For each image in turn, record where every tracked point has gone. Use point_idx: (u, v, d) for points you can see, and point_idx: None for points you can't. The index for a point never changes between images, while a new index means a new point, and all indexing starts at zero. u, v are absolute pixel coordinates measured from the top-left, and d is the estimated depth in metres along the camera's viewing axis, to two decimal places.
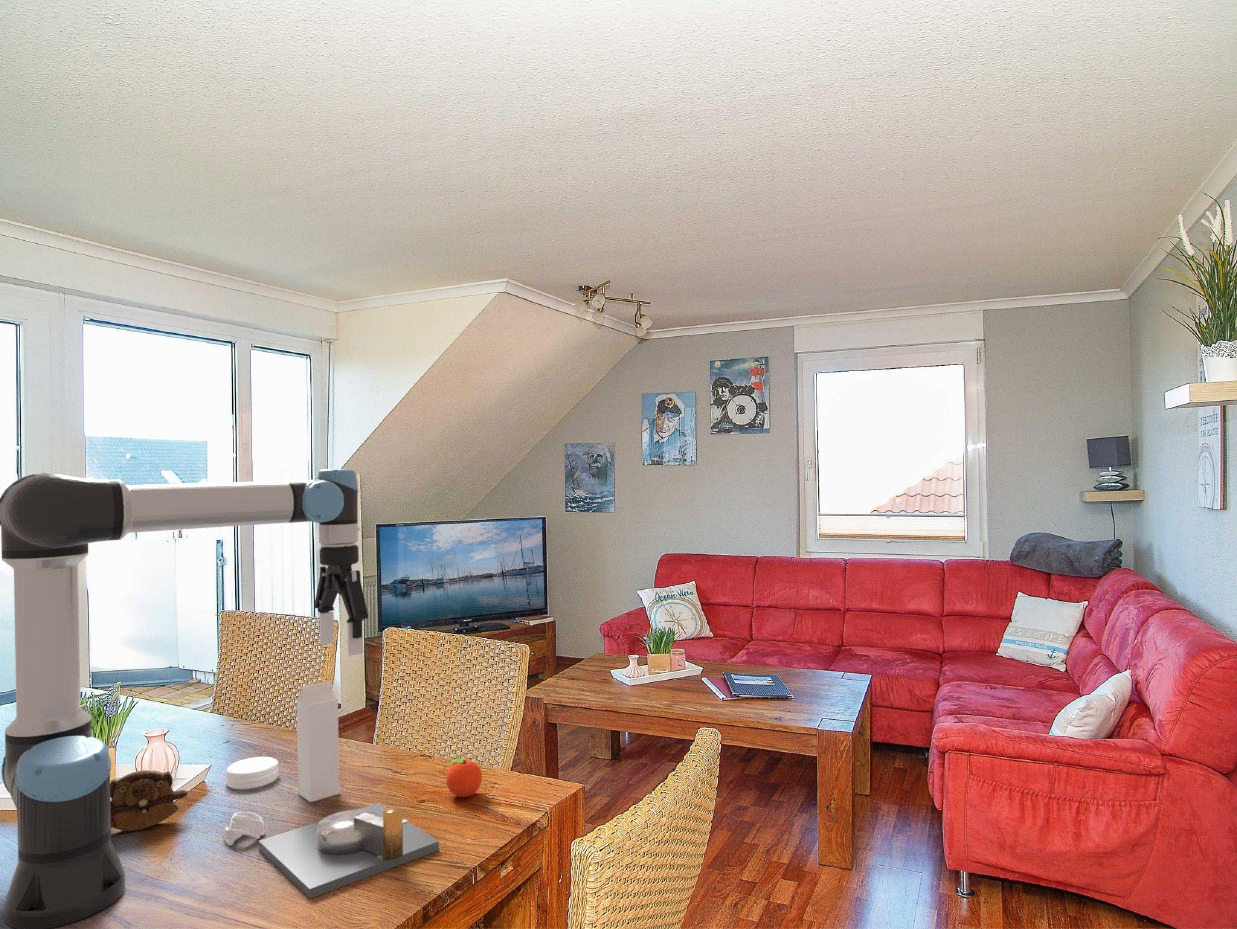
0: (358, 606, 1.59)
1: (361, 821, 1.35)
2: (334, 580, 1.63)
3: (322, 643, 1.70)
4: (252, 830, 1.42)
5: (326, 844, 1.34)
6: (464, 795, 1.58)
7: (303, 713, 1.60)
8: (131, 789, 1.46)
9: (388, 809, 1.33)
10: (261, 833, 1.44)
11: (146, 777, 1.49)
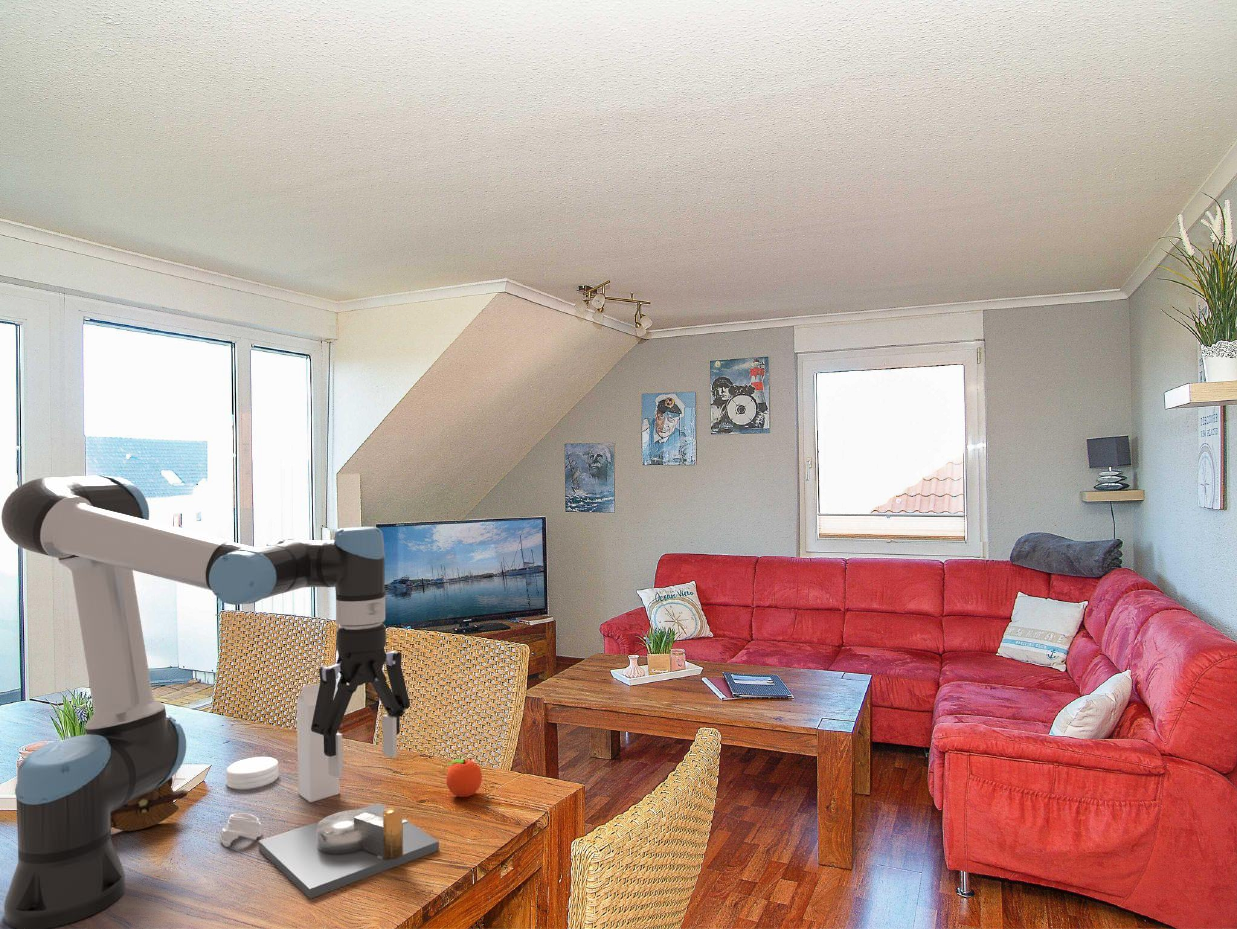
0: (316, 716, 1.24)
1: (361, 821, 1.35)
2: None
3: (383, 753, 1.34)
4: (249, 831, 1.42)
5: (326, 844, 1.34)
6: (464, 795, 1.58)
7: (303, 713, 1.60)
8: None
9: (388, 809, 1.33)
10: (258, 834, 1.43)
11: None
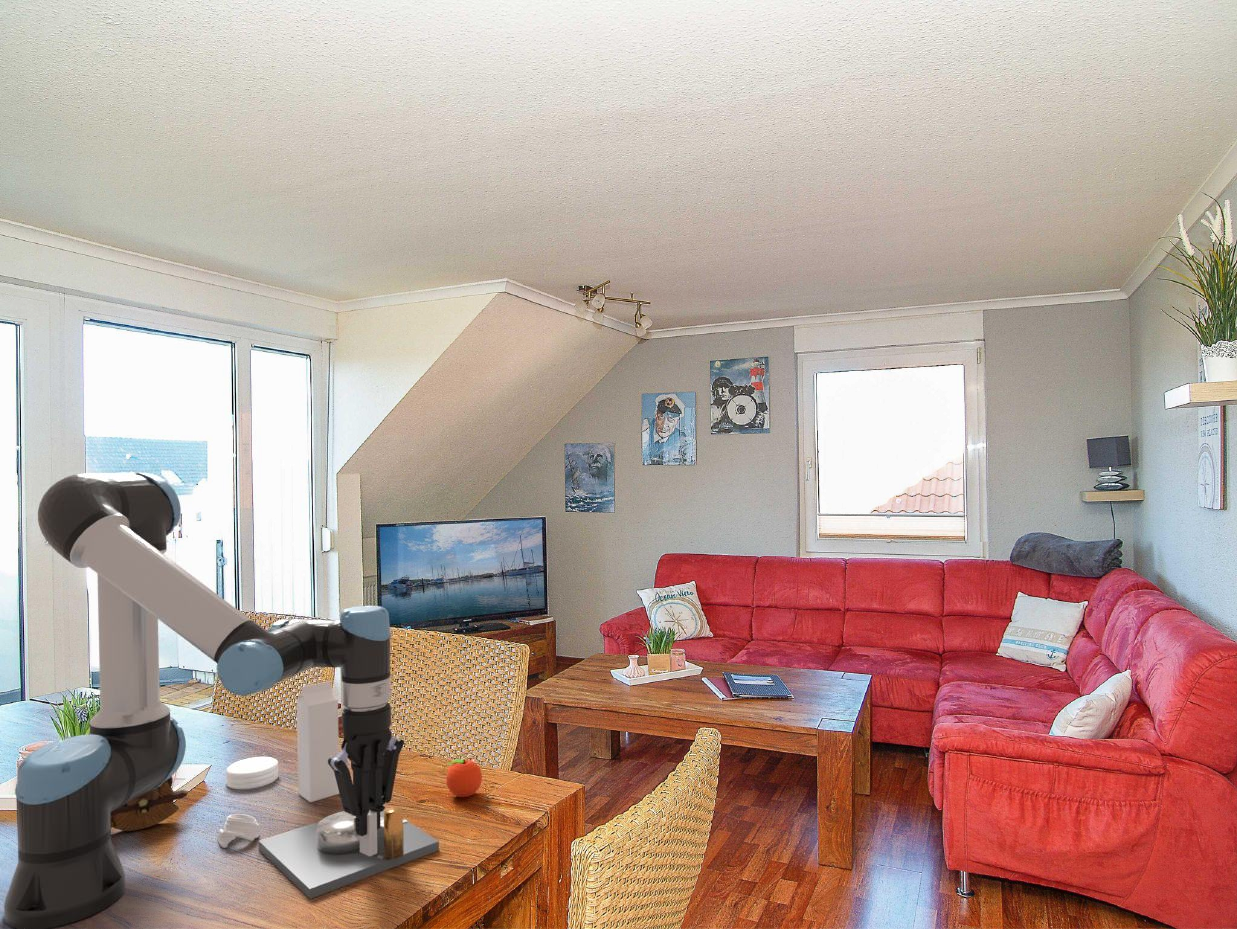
0: (344, 800, 1.27)
1: None
2: None
3: None
4: (246, 832, 1.42)
5: (327, 844, 1.34)
6: (464, 795, 1.58)
7: (303, 713, 1.60)
8: None
9: (389, 809, 1.33)
10: (255, 835, 1.43)
11: None
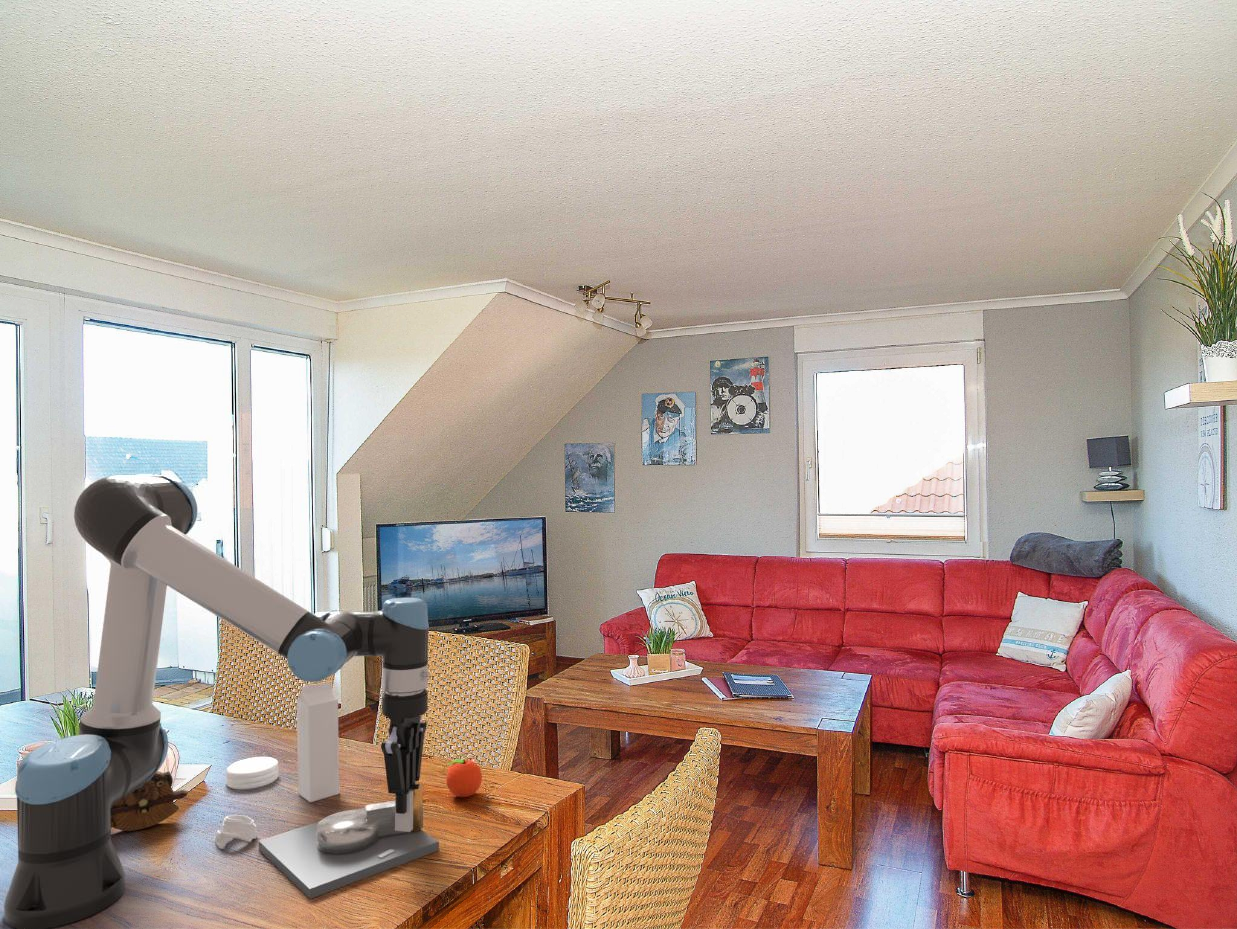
0: (391, 782, 1.35)
1: (377, 810, 1.39)
2: None
3: None
4: (244, 833, 1.41)
5: (354, 842, 1.34)
6: (464, 795, 1.58)
7: (303, 713, 1.60)
8: None
9: None
10: (253, 836, 1.43)
11: None
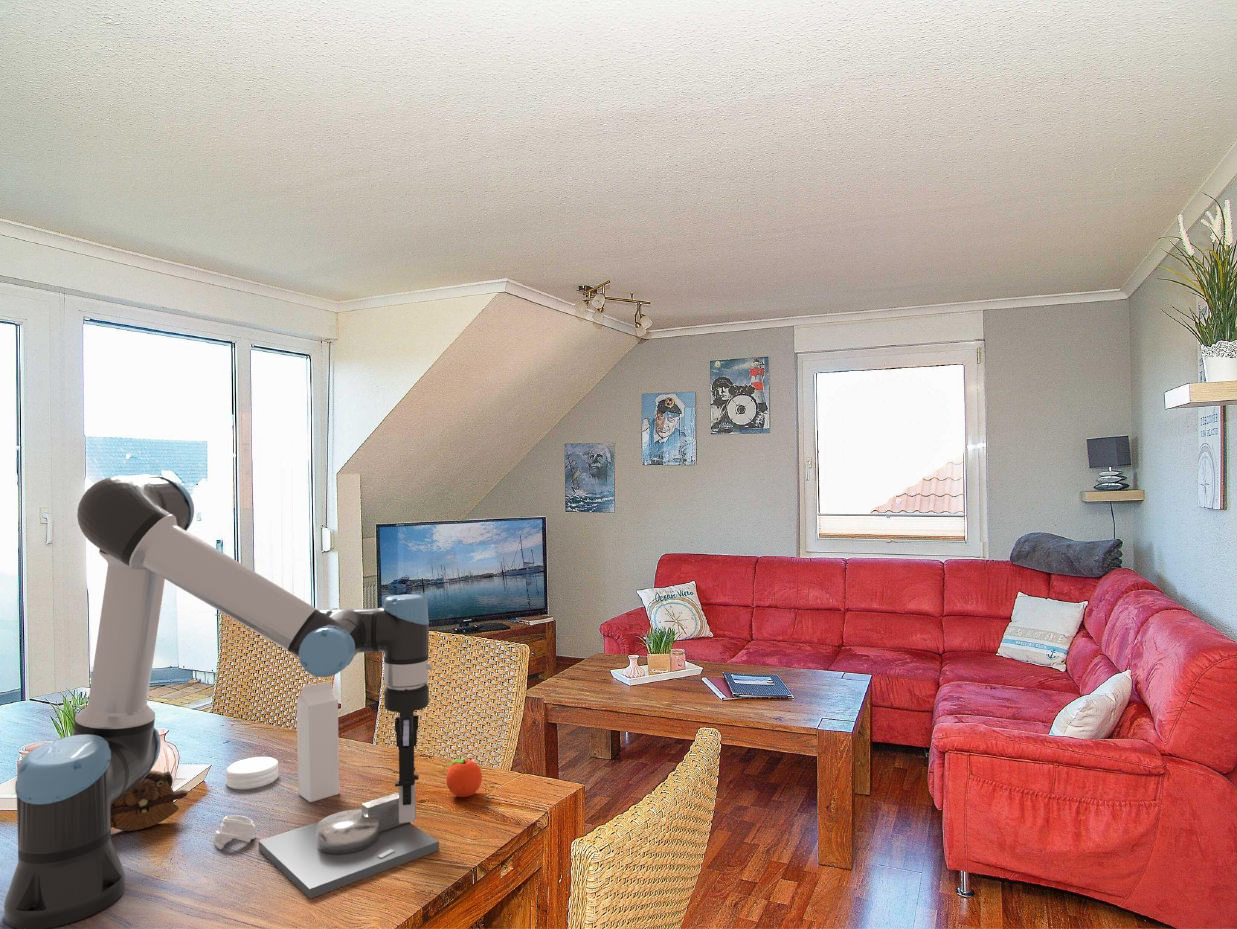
0: (404, 774, 1.38)
1: (377, 805, 1.41)
2: (395, 729, 1.40)
3: None
4: (243, 834, 1.41)
5: (365, 839, 1.35)
6: (464, 795, 1.58)
7: (303, 713, 1.60)
8: (131, 789, 1.46)
9: None
10: (252, 837, 1.42)
11: (146, 777, 1.49)
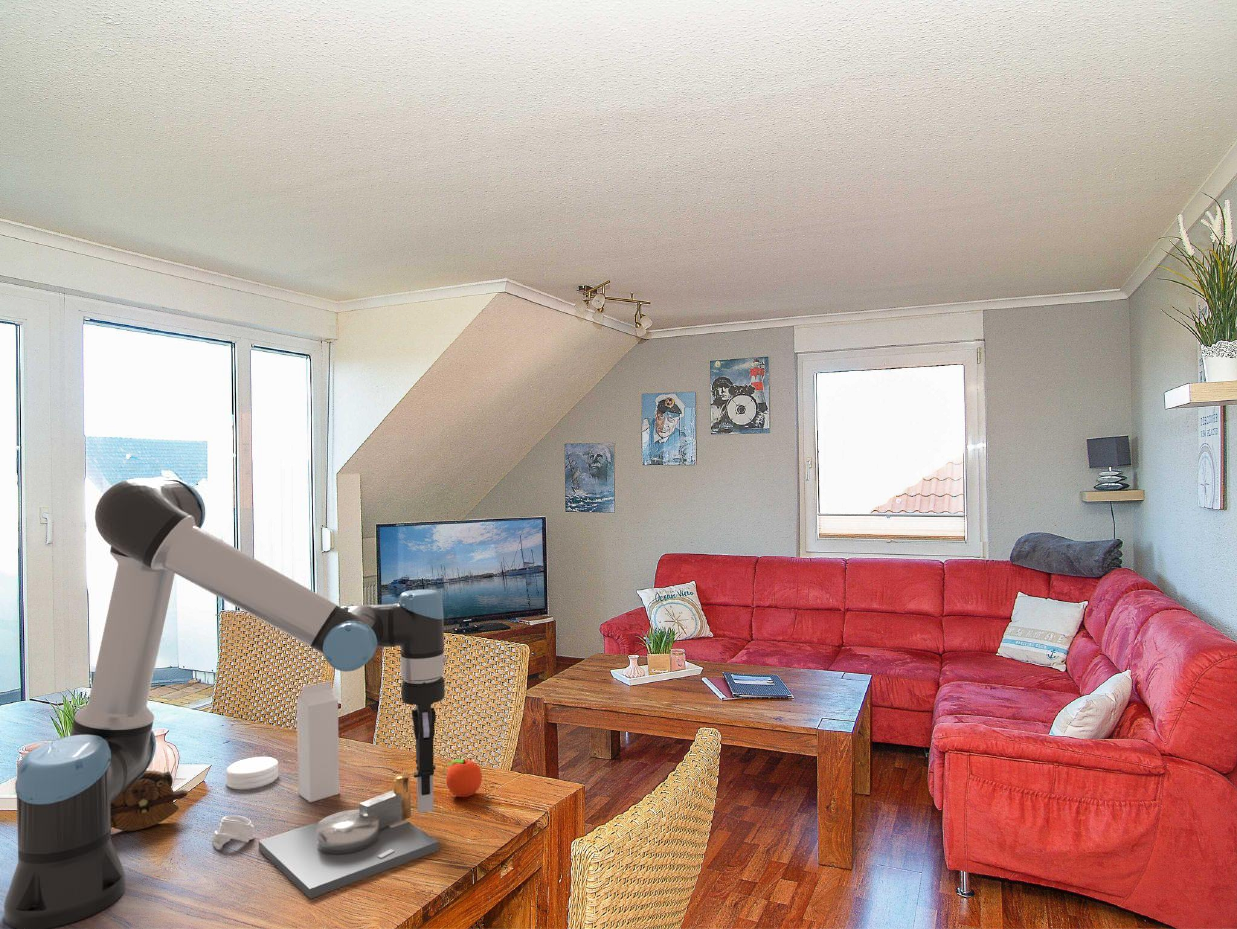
0: (424, 765, 1.41)
1: (376, 804, 1.42)
2: (413, 721, 1.43)
3: None
4: (241, 834, 1.41)
5: (369, 837, 1.36)
6: (464, 795, 1.58)
7: (303, 713, 1.60)
8: (131, 789, 1.46)
9: (396, 778, 1.46)
10: (250, 837, 1.42)
11: (146, 777, 1.49)
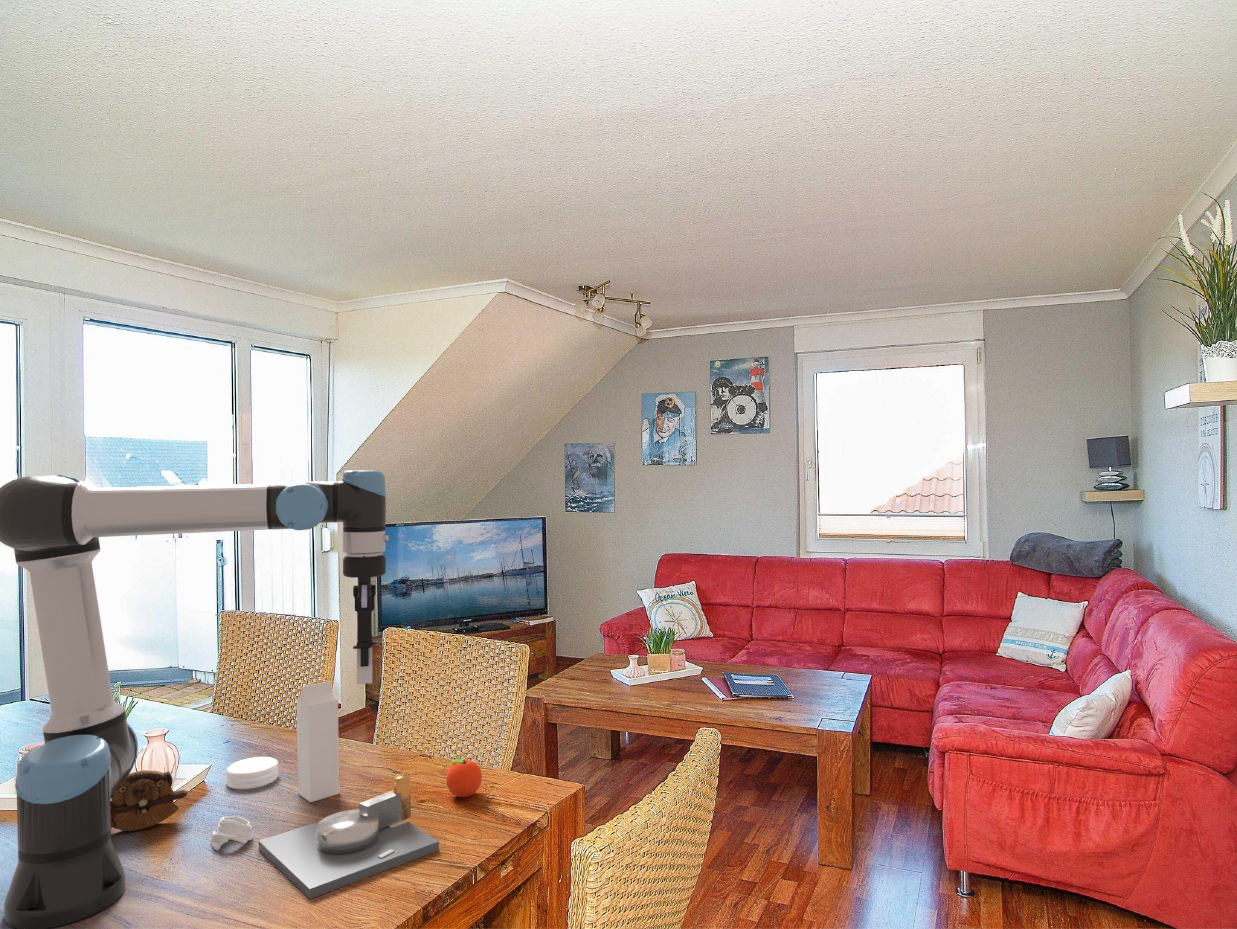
0: (362, 635, 1.46)
1: (376, 804, 1.42)
2: None
3: None
4: (239, 835, 1.41)
5: (369, 837, 1.36)
6: (464, 795, 1.58)
7: (303, 713, 1.60)
8: (131, 789, 1.46)
9: (396, 778, 1.46)
10: (249, 838, 1.42)
11: (146, 777, 1.49)
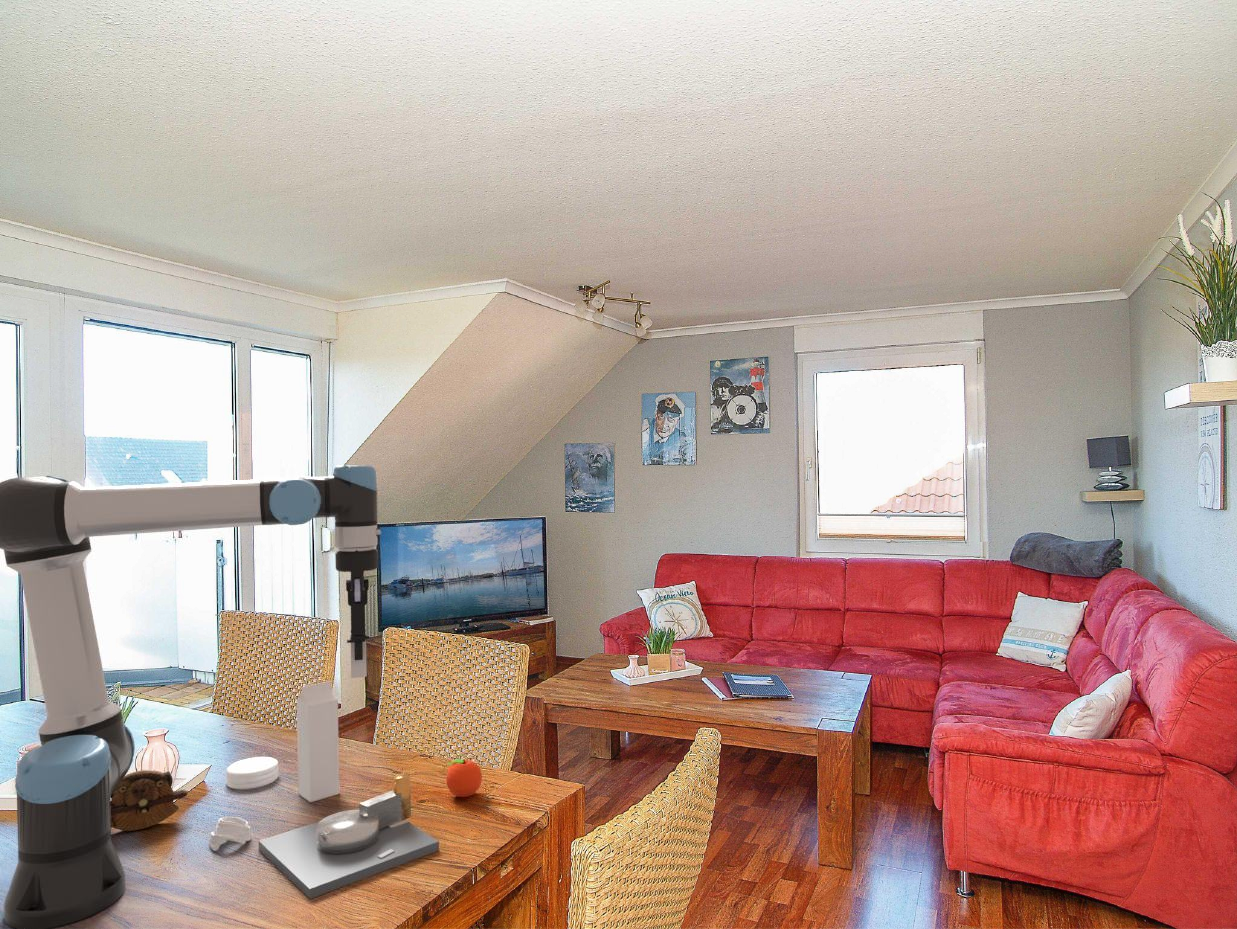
0: (356, 629, 1.47)
1: (376, 804, 1.42)
2: None
3: None
4: (238, 835, 1.41)
5: (369, 837, 1.36)
6: (464, 795, 1.58)
7: (303, 713, 1.60)
8: (131, 789, 1.46)
9: (396, 778, 1.46)
10: (247, 838, 1.42)
11: (146, 777, 1.49)
